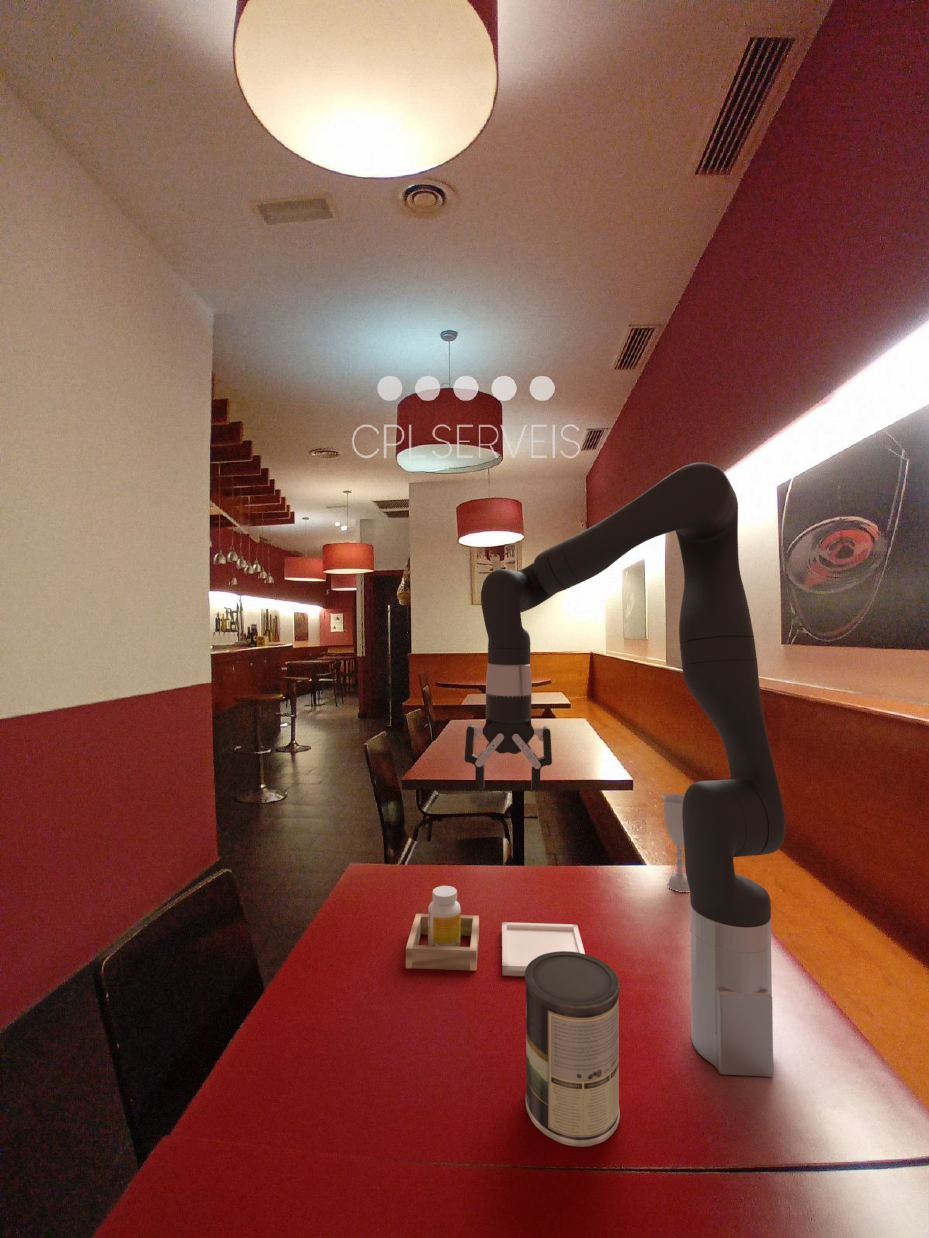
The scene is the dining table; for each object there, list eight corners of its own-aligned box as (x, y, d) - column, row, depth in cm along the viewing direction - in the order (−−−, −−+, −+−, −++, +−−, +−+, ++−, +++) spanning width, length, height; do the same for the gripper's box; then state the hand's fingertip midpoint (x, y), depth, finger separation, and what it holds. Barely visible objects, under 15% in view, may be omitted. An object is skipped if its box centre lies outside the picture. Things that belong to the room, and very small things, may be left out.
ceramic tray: (588, 978, 86) (588, 968, 86) (502, 975, 86) (502, 965, 86) (577, 933, 99) (577, 924, 99) (502, 930, 99) (502, 922, 99)
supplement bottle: (421, 948, 94) (421, 889, 94) (447, 937, 97) (447, 880, 98) (441, 962, 90) (441, 901, 90) (467, 950, 93) (467, 891, 93)
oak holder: (476, 970, 88) (476, 950, 88) (405, 967, 88) (405, 948, 88) (478, 933, 99) (478, 915, 99) (416, 930, 99) (416, 913, 99)
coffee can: (506, 1111, 62) (506, 980, 62) (555, 1057, 70) (554, 940, 70) (593, 1168, 55) (592, 1020, 56) (636, 1101, 63) (635, 972, 64)
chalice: (703, 895, 113) (702, 804, 113) (669, 895, 113) (668, 803, 114) (689, 879, 120) (689, 793, 121) (657, 879, 120) (656, 793, 121)
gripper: (463, 693, 91) (462, 794, 91) (553, 695, 90) (552, 797, 90) (467, 687, 98) (466, 781, 98) (550, 689, 97) (549, 784, 97)
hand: (507, 789), depth 94 cm, fingers open, 8 cm apart
